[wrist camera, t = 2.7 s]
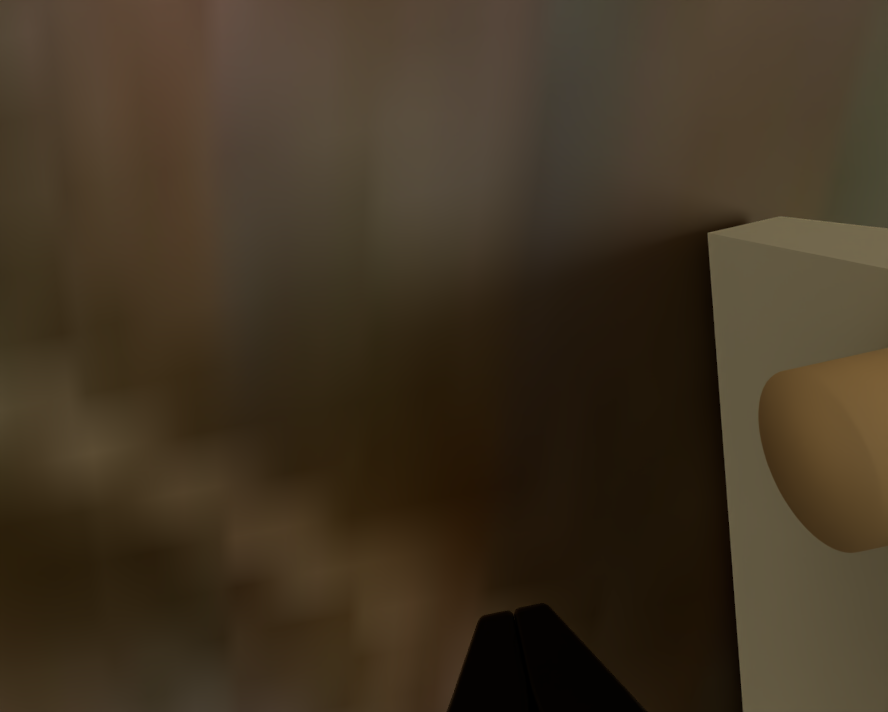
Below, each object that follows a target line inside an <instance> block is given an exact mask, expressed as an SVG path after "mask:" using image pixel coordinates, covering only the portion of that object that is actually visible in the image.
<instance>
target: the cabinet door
mask: <svg viewBox="0 0 888 712" xmlns="http://www.w3.org/2000/svg"><path fill="white" fill-rule="evenodd" d="M707 234H708V247H709V261H710V274H711V288H712V301H713V314H714V328H715V341H716V355H717V368H718V382H719V395H720V409H721V422H722V435H723V449H724V462H725V476H726V489H727V503H728V516H729V530H730V543H731V556H732V570H733V583H734V597H735V610H736V624H737V637H738V651H739V664H740V677H741V691H742V704H743V712H888V228H879V227H870V226H862V225H853V224H844V223H835V222H826V221H817V220H809V219H800V218H791V217H782V216H779V217H775V218H770V219H766V220H762V221H757V222H753V223H748V224H744V225H740V226H735V227H731V228H727V229H722V230H718V231H713V232H709V233H707Z"/></svg>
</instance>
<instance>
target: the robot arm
mask: <svg viewBox="0 0 888 712" xmlns="http://www.w3.org/2000/svg"><path fill="white" fill-rule="evenodd" d="M514 617H515V619H514ZM515 622H516V623H515ZM447 712H647V711H646V710H645V709H644V708H643V707H642V706H641V705H640V703H639V702H638V701H637V700H636V699H635V698H634V697H633V696H632V695H631V694H630V693H629V692H628V690H627V689H626V688H625V687H624V686H623V685H622V684H621V683H620V682H619V681H618V680H617V679H616V678H615V676H614V675H613V674H612V673H611V672H610V671H609V670H608V669H607V668H606V667H605V666H604V665H603V664H602V662H601V661H600V660H599V659H598V658H597V657H596V656H595V655H594V654H593V653H592V652H591V651H590V650H589V648H588V647H587V646H586V645H585V644H584V643H583V642H582V641H581V640H580V639H579V638H578V637H577V636H576V634H575V633H574V632H573V631H572V630H571V629H570V628H569V627H568V626H567V625H566V624H565V623H564V622H563V620H562V619H561V618H560V617H559V616H558V615H557V614H556V613H555V612H554V611H553V610H552V609H551V608H550V607H549V606H548V605H547V604H544V603H540V604H535V605H531V606H526V607H521V608H518V609H516V610H515V612H514V615H513V613H512V612H510V611H503V612H498V613H493V614H489V615H484V616H482V617H481V618H480V619H479V620H478V623H477V625H476V628H475V631H474V634H473V637H472V640H471V643H470V646H469V649H468V652H467V655H466V657H465V660H464V663H463V666H462V669H461V672H460V675H459V678H458V681H457V684H456V687H455V690H454V693H453V695H452V698H451V701H450V704H449V707H448V710H447Z"/></svg>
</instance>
